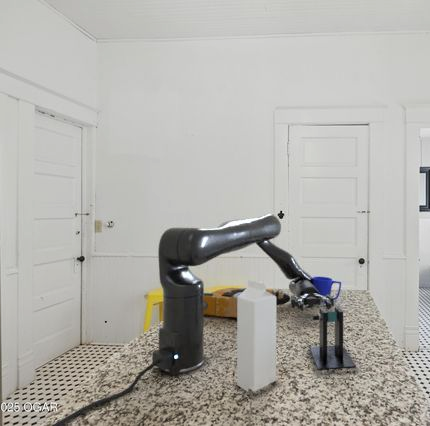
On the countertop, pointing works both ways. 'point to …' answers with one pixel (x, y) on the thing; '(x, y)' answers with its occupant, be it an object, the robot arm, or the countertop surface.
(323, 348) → the bracket
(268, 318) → the milk
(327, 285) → the mug
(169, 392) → the countertop surface
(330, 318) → the lever
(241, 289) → the device
